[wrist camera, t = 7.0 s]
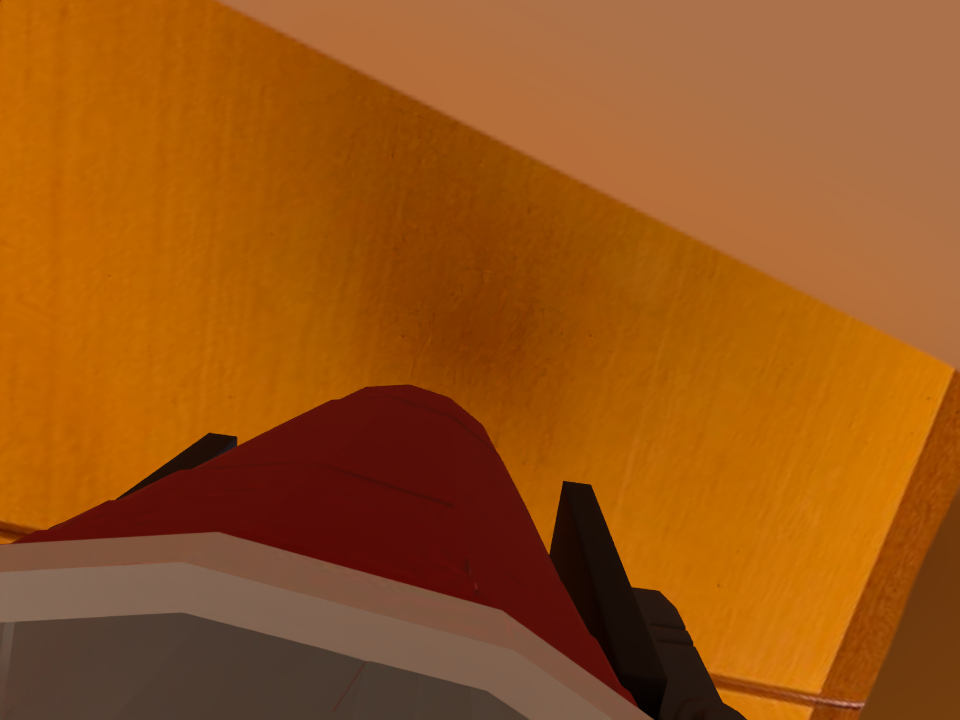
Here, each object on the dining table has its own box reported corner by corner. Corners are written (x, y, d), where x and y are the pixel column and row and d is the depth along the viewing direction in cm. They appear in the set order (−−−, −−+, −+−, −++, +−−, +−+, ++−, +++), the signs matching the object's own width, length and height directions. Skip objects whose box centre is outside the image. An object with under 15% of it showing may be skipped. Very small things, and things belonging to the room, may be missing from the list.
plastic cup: (294, 666, 18) (-82, 1501, 6) (167, 356, 15) (-852, 753, 4) (620, 596, 17) (909, 1410, 5) (538, 256, 15) (734, 360, 3)
